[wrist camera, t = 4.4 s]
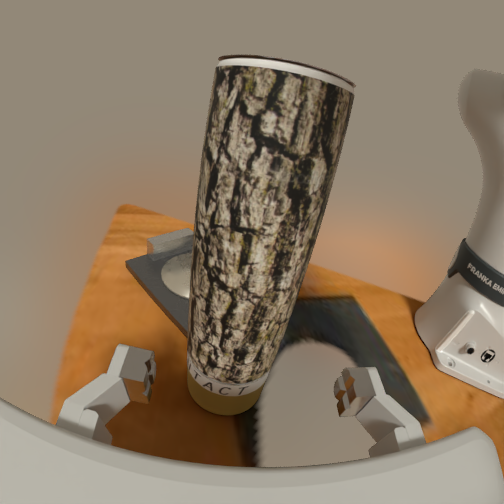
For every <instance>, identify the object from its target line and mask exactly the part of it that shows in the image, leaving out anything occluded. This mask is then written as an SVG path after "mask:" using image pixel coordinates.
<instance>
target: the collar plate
mask: <svg viewBox="0 0 504 504" xmlns="http://www.w3.org/2000/svg"><path fill="white" fill-rule="evenodd" d="M193 235H194V232H193V231H191V230H190V229H189V228H186V229H182V230H178V231H174V232H171V233H167V234H163V235H159V236H156V237H152V238H148V239H147V255H143V256H140V257H137V258H134V259H130V260H127V261H125V262H126V268H127V269H128V270H129V272H130V273H131V274H132V275H133V277H134V278H135V279H136V280H137V281H138V283H139V284H140V285H141V286H142V287H143V289H144V290H145V291H146V292H147V293H148V295H149V296H150V297H151V298H152V299H153V300H154V302H155V303H156V304H157V305H158V306H159V307H160V309H161V310H162V311H163V312H164V313H165V314H166V315H167V316H168V318H169V319H170V320H171V321H172V322H173V323H174V324H175V325H176V326H177V327H178V328H179V330H180V331H181V332H182V333H183V334H184V335H185V336H186V337H187V338H188V314H189V293H190V276H191V261H192V247H193Z"/></svg>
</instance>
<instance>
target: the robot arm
mask: <svg viewBox="0 0 504 504" xmlns="http://www.w3.org/2000/svg"><path fill="white" fill-rule="evenodd" d="M458 106H459V111H460V115H461V118H462V120H463V122H464V124H465V126H466V128H467V129H468V131H469V132H470V134H471V135H472V137H473V139H474V141H475V143H476V145H477V148H478V150H479V154H480V157H481V162H482V167H483V188H482V194H481V198H480V202H479V205H478V209H477V212H476V215H475V218H474V221H473V223H472V226H471V228H470V231H469V233H468V236H467V238H464V239H463V240H462V242H461V244H460V246H459V247H458V249H457V251H456V253H455V255H454V257H453V259H452V261H451V264H450V266H449V269H448V274H447V276H446V277H445V279H444V280H443V282H442V283H441V285H440V286H439V287H438V289H437V290H436V291H435V292H434V294H433V295H432V296H431V297H430V298H429V299H428V301H427V302H426V303H424V304H423V305H422V306H421V307H420V308H419V309H418V310H417V311H416V314H415V325H416V328H417V331H418V333H419V335H420V337H421V339H422V340H423V342H424V343H425V344H426V346H427V347H428V349H429V350H430V352H431V356H432V359H433V362H434V364H435V366H436V367H437V368H438V369H439V370H440V371H442V372H444V373H447V374H449V375H451V376H453V377H455V378H457V379H460V380H462V381H464V382H466V383H468V384H471V385H473V386H475V387H477V388H479V389H482V390H484V391H486V392H488V393H491V394H493V395H495V396H497V397H500V398H503V399H504V74H501V73H496V72H492V71H486V70H480V69H474V70H472V71H471V72H469V73H468V74H467V75H466V76H465V77H464V79H463V80H462V82H461V84H460V88H459V93H458ZM154 357H155V355H154V351H150V350H146V349H141V348H137V347H132V346H128V345H124V344H119V345H118V346H117V348H116V350H115V353H114V355H113V358H112V360H111V363H110V366H109V368H108V371H107V374H105V373H103V374H101V375H100V376H99V377H97V378H96V379H94V380H93V381H92V382H90V383H89V384H87V385H86V386H85V387H83V388H82V389H80V390H79V391H78V392H76V393H75V394H73V395H72V396H70V397H69V398H68V399H66V400H65V402H64V404H63V407H62V410H61V412H60V415H59V418H58V420H57V423H56V425H54V424H51V423H49V422H47V421H44V420H42V419H40V418H38V417H36V416H34V415H32V414H30V413H28V412H26V411H24V410H21V409H20V408H18V407H16V406H14V405H12V404H11V403H9V402H7V401H5V400H3V399H2V398H0V504H504V479H503V475H502V470H501V466H500V462H499V458H498V455H497V451H496V448H495V445H494V443H493V441H492V439H491V438H490V437H489V436H487V435H486V434H485V433H484V432H483V431H481V430H480V429H479V428H477V427H470V428H468V429H465V430H463V431H460V432H458V433H455V434H453V435H450V436H447V437H444V438H442V439H439V440H436V441H433V442H430V443H426V441H425V438H424V435H423V432H422V429H421V426H420V423H419V422H418V421H417V420H416V419H415V418H414V417H413V416H412V415H410V414H409V413H408V412H407V411H406V410H405V409H404V408H403V407H401V406H400V405H399V404H398V403H397V402H396V401H395V400H394V399H393V398H391V397H390V396H389V395H386V394H385V391H384V388H383V385H382V382H381V379H380V377H379V374H378V371H377V369H376V368H375V367H366V368H365V367H357V368H345V369H343V371H342V372H341V373H342V376H340V377H339V378H337V380H336V382H335V385H334V395H335V397H336V398H337V399H338V400H339V402H338V403H337V408H338V413H339V416H340V417H346V416H355V417H356V418H357V420H358V421H359V422H360V423H361V424H362V425H363V427H364V428H365V429H366V430H367V432H368V433H369V434H370V435H371V436H372V438H373V439H374V440H375V441H376V442H377V443H376V444H375V445H374V446H372V447H371V448H370V449H369V455H370V458H365V459H360V460H354V461H347V462H340V463H332V464H323V465H312V466H298V467H235V466H221V465H210V464H201V463H193V462H186V461H179V460H173V459H167V458H162V457H157V456H152V455H147V454H143V453H139V452H134V451H130V450H127V449H123V448H119V447H116V446H112V445H111V442H112V438H113V437H112V435H111V434H110V432H109V431H108V429H107V428H106V426H105V425H106V424H107V423H108V422H109V421H110V420H111V419H112V418H113V417H114V416H115V415H116V414H117V413H118V412H119V411H120V410H121V409H122V408H124V407H125V406H126V405H127V404H128V403H129V402H130V400H131V401H136V402H141V403H146V404H149V401H150V397H151V393H152V389H151V385H152V384H153V383H154V380H155V375H156V362H155V361H154Z"/></svg>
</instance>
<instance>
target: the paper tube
mask: <svg viewBox="0 0 504 504" xmlns="http://www.w3.org/2000/svg"><path fill="white" fill-rule="evenodd" d="M218 60H219V61H220V62H219V63H218V65H217V67H216V70H215V75H214V81H213V86H212V92H211V98H210V105H209V110H208V117H207V123H206V131H205V137H204V145H203V152H202V160H201V168H200V176H199V185H198V194H197V204H196V213H195V224H194V235H193V247H192V261H191V276H190V293H189V314H188V345H187V385H188V389H189V392H190V395H191V396H192V398H193V399H194V401H195V402H196V403H197V404H198V405H199V406H201V407H202V408H204V409H205V410H207V411H209V412H212V413H215V414H219V415H235V414H239V413H242V412H245V411H246V410H248V409H250V408H251V407H252V406H253V405H254V404H255V403H256V402H257V400H258V398H259V396H260V394H261V392H262V389H263V387H264V384H265V382H266V379H267V377H268V375H269V372H270V370H271V367H272V365H273V362H274V360H275V357H276V354H277V352H278V349H279V346H280V344H281V341H282V338H283V336H284V333H285V330H286V328H287V325H288V322H289V319H290V317H291V314H292V311H293V308H294V305H295V302H296V299H297V297H298V294H299V291H300V288H301V285H302V282H303V279H304V276H305V273H306V270H307V267H308V264H309V261H310V258H311V254H312V251H313V248H314V245H315V242H316V238H317V235H318V232H319V229H320V225H321V222H322V219H323V215H324V212H325V209H326V205H327V202H328V198H329V194H330V191H331V188H332V184H333V180H334V177H335V173H336V169H337V166H338V162H339V158H340V154H341V150H342V146H343V142H344V138H345V134H346V130H347V126H348V121H349V118H350V113H351V109H352V104H353V100H354V90H353V88H354V87H356V85H355V84H354V83H353V82H351V81H350V80H348V79H346V78H344V77H342V76H340V75H338V74H335V73H333V72H330V71H328V70H325V69H322V68H318V67H315V66H311V65H308V64H304V63H300V62H296V61H292V60H287V59H281V58H275V57H268V56H258V55H226V56H222V57H219V58H218Z"/></svg>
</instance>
